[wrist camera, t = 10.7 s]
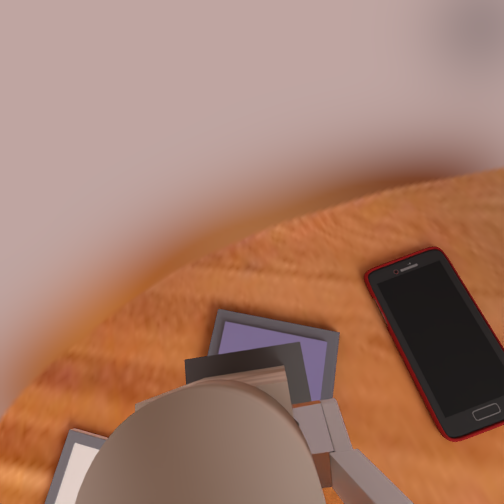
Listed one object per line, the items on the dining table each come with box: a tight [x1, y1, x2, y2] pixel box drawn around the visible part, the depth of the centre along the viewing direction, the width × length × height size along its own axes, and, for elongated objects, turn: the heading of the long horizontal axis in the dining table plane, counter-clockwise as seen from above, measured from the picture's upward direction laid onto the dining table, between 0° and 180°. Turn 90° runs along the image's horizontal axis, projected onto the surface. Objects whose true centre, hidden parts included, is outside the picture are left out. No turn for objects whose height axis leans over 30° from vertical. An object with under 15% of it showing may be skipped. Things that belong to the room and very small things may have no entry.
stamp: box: [75, 342, 326, 504], centre depth 10 cm, size 6×6×11 cm
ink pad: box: [208, 309, 340, 401], centre depth 25 cm, size 11×11×1 cm
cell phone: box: [364, 247, 504, 442], centre depth 25 cm, size 8×15×1 cm, turn 20°
